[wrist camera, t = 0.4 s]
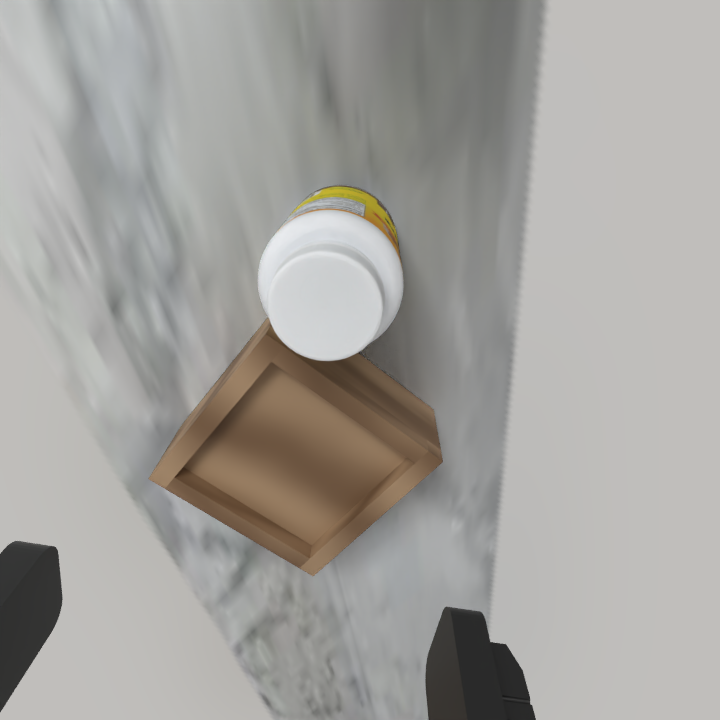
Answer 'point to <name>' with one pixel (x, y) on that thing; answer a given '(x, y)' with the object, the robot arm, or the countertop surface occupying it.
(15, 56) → the countertop surface
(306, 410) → the walnut tray
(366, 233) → the supplement bottle
